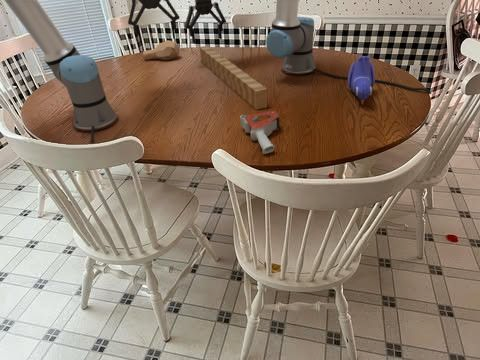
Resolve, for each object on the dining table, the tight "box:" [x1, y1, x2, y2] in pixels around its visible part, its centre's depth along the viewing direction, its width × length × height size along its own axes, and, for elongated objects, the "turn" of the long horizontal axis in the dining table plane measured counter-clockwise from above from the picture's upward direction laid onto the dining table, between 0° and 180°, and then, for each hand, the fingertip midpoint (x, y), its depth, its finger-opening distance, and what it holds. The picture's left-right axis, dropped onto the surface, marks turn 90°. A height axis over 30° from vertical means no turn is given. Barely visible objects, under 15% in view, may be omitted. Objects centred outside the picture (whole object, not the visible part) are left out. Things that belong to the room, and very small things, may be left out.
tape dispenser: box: [239, 110, 280, 155], centre depth 117 cm, size 18×5×20 cm
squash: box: [142, 39, 180, 61], centre depth 190 cm, size 11×20×9 cm, turn 92°
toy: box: [347, 55, 376, 106], centre depth 135 cm, size 10×17×25 cm
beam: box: [199, 45, 268, 111], centre depth 159 cm, size 67×5×7 cm, turn 23°
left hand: (157, 40), depth 147 cm, fingers open, 13 cm apart
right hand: (207, 40), depth 174 cm, fingers open, 13 cm apart
